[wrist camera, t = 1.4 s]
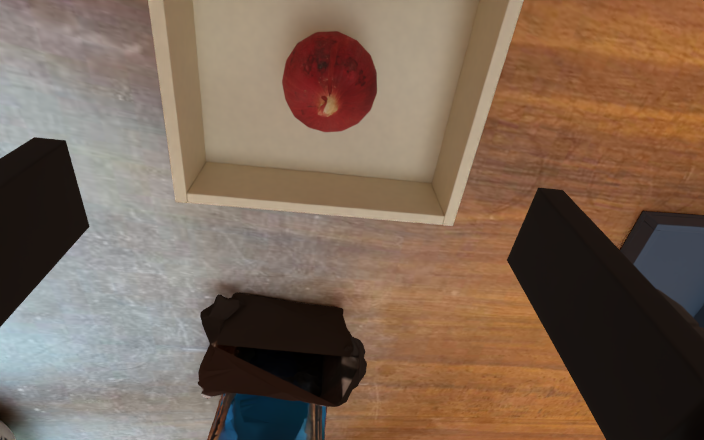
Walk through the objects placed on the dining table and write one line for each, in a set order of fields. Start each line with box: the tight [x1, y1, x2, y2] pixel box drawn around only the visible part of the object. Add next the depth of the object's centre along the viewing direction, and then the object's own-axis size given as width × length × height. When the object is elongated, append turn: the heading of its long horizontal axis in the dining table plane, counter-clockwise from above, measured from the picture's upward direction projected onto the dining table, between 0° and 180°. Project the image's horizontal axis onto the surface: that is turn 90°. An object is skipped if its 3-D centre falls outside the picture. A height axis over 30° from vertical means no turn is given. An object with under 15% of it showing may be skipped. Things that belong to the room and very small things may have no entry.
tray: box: [620, 211, 704, 328], centre depth 40 cm, size 17×12×2 cm
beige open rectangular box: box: [148, 0, 524, 226], centre depth 26 cm, size 20×18×5 cm
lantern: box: [198, 293, 367, 440], centre depth 41 cm, size 16×16×25 cm
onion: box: [282, 31, 377, 132], centre depth 25 cm, size 6×6×8 cm
